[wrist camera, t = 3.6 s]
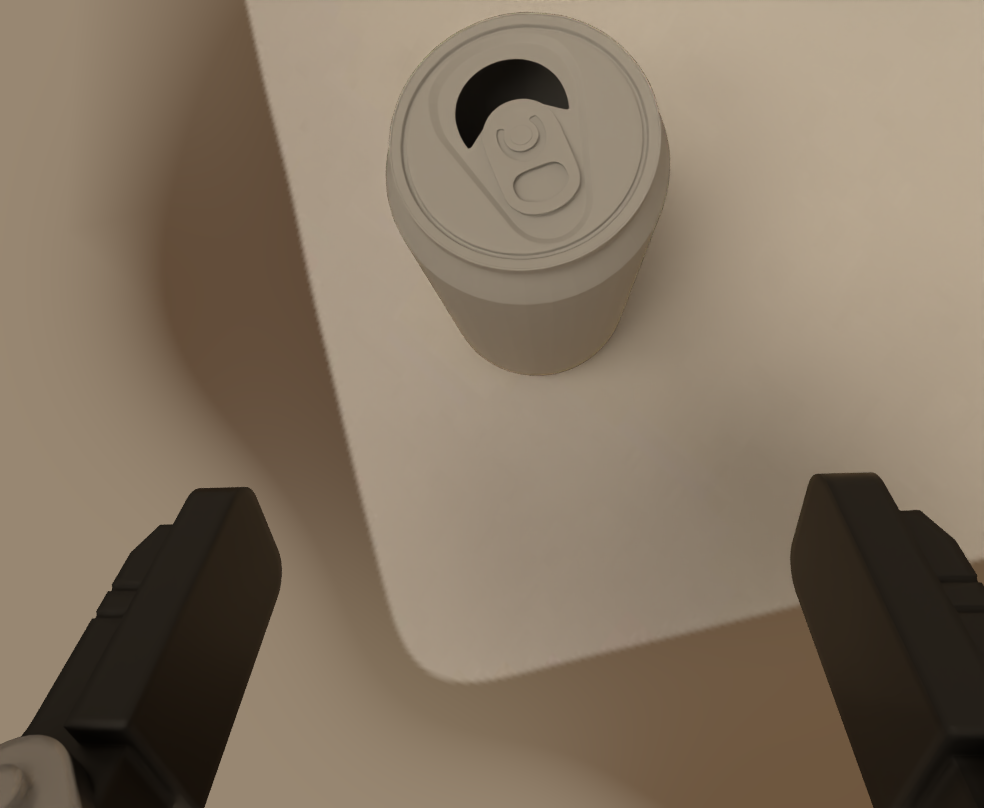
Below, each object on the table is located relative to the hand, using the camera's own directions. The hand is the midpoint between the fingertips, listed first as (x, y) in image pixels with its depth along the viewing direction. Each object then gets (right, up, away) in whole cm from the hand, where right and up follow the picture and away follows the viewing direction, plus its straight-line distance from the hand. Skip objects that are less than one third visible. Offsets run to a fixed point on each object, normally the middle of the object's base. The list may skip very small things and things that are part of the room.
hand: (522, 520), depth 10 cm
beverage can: (+1, +6, +16) cm, 17 cm away
